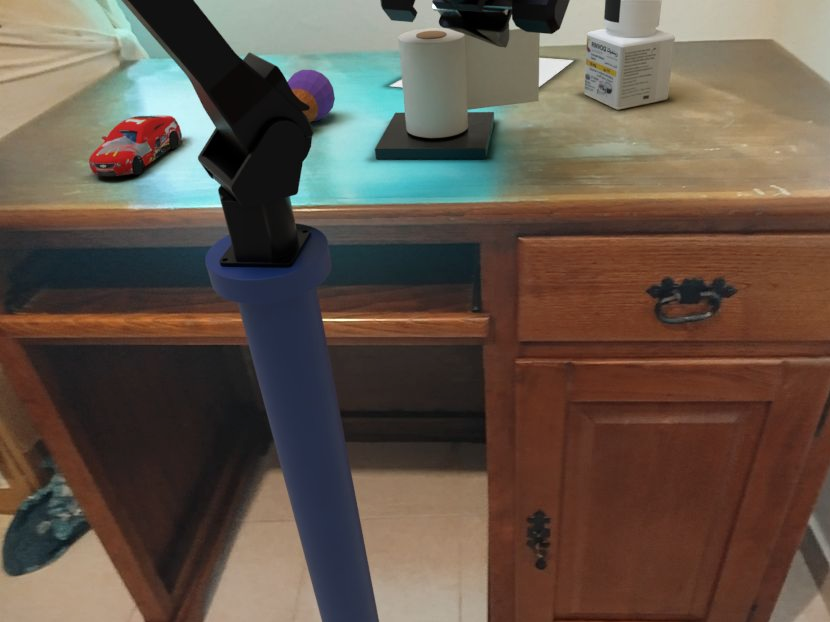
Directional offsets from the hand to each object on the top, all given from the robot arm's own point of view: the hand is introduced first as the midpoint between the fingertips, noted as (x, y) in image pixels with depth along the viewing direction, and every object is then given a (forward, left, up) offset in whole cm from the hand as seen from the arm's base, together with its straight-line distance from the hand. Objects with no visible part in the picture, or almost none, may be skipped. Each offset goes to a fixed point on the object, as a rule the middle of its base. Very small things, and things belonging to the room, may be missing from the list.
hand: (504, 43), depth 75 cm
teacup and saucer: (+28, +5, -11) cm, 30 cm away
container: (+16, -14, -11) cm, 24 cm away
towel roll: (+3, +5, -9) cm, 11 cm away
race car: (-5, +41, -11) cm, 42 cm away
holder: (+1, +8, -11) cm, 13 cm away
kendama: (+1, +25, -11) cm, 27 cm away
